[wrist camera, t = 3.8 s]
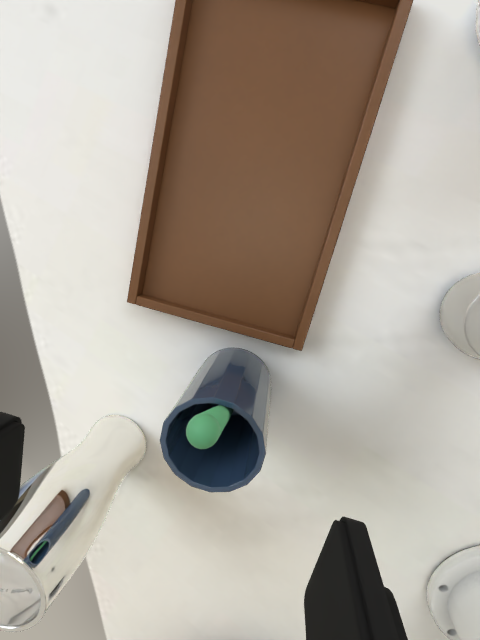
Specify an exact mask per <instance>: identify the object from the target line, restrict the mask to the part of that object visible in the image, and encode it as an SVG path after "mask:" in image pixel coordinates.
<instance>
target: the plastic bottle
mask: <svg viewBox="0 0 480 640" xmlns="http://www.w3.org/2000/svg"><path fill="white" fill-rule="evenodd" d="M440 323H441V327H442V329H443V331H444V333H445V335H446V336H447V337H448V339H449V340H450V341H451V342H452V343H453V344H454V345H455V346H456V347H457V348H458V349H459V350H460V351H462V352H464V353H465V354H467V355H469V356H472V357H475V358H477V359H480V273H476V274H472V275H469V276H467V277H465V278H463V279H461V280H460V281H458V282H457V283H455V284H454V285H453V286H452V287H451V288H450V289H449V291H448V292H447V294H446V295H445V297H444V299H443V301H442V303H441V308H440Z"/></svg>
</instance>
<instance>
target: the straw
mask: <svg viewBox="0 0 480 640" xmlns="http://www.w3.org/2000/svg"><path fill="white" fill-rule="evenodd" d="M232 413H233V409H232V408H229V407H225V406H222V405H218V406H216V407H213V408H211V409H209V410H207V411H204V412H202V413H200V414H197V415H195V416H194V417H193V418H192V419H191V420H190V421H189V423H188V425H187V428H186V436H187V439H188V441H189V443H190V444H191V445H192V446H194V447H196V448H198V449H206V448H209V447H211V446H213V445H214V444H215V443H216V442H217V440H218V438H219V437H220V435H221V433H222V431H223V429H224V427H225V426H226V424H227V422H228V420H229V418H230V416H231V415H232Z"/></svg>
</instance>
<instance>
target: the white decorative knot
mask: <svg viewBox="0 0 480 640" xmlns="http://www.w3.org/2000/svg"><path fill="white" fill-rule="evenodd" d="M476 33H477V38H478V43H479V45H480V0H478V5H477V9H476Z"/></svg>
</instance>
